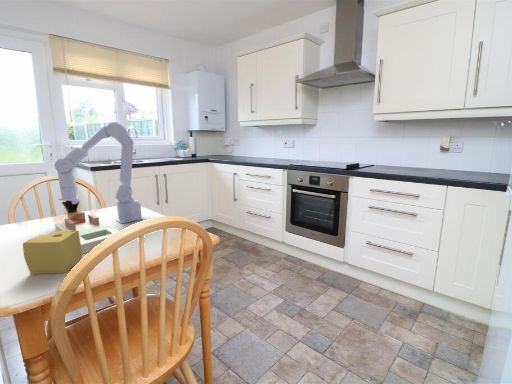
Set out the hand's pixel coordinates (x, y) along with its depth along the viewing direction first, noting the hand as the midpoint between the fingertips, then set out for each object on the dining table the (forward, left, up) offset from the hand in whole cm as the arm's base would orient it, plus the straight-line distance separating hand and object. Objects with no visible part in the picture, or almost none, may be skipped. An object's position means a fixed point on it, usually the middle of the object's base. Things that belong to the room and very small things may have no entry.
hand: (73, 217), depth 122 cm
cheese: (+15, +39, -4) cm, 43 cm away
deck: (0, +17, -4) cm, 18 cm away
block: (0, +5, -1) cm, 6 cm away
